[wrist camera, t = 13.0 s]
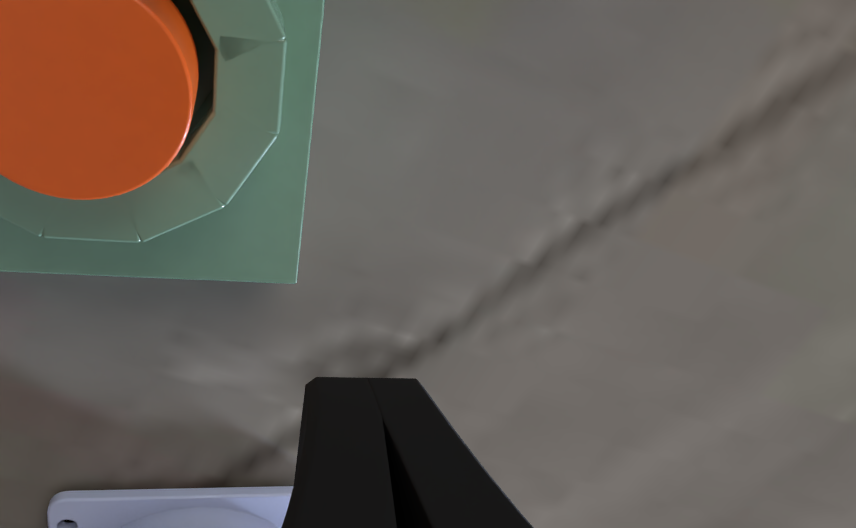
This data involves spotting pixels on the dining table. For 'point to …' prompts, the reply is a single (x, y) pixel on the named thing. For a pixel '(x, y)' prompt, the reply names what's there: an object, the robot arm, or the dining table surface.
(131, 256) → the button box
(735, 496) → the dining table surface
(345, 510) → the robot arm
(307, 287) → the dining table surface
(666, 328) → the dining table surface
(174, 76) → the button
